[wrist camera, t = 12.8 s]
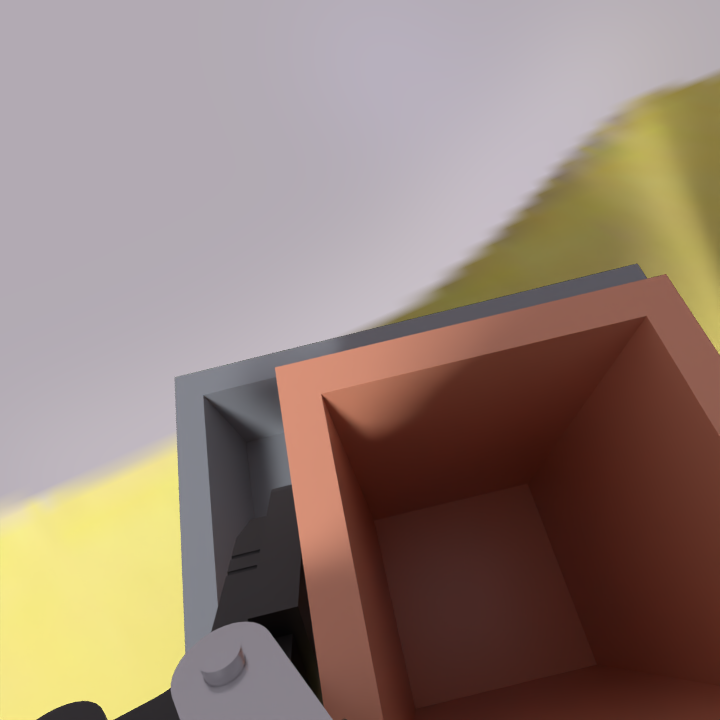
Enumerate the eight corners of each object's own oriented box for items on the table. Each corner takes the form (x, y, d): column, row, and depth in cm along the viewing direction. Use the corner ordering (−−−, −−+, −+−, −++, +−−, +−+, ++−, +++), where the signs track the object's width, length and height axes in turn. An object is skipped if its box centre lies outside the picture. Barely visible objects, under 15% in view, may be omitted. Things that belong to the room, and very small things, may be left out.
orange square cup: (534, 467, 16) (665, 274, 7) (619, 683, 13) (1000, 779, 5) (354, 511, 16) (274, 367, 7) (399, 737, 13) (357, 938, 4)
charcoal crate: (588, 347, 19) (637, 263, 15) (837, 823, 12) (1066, 928, 8) (231, 436, 19) (174, 377, 15) (283, 968, 12) (205, 1156, 8)
